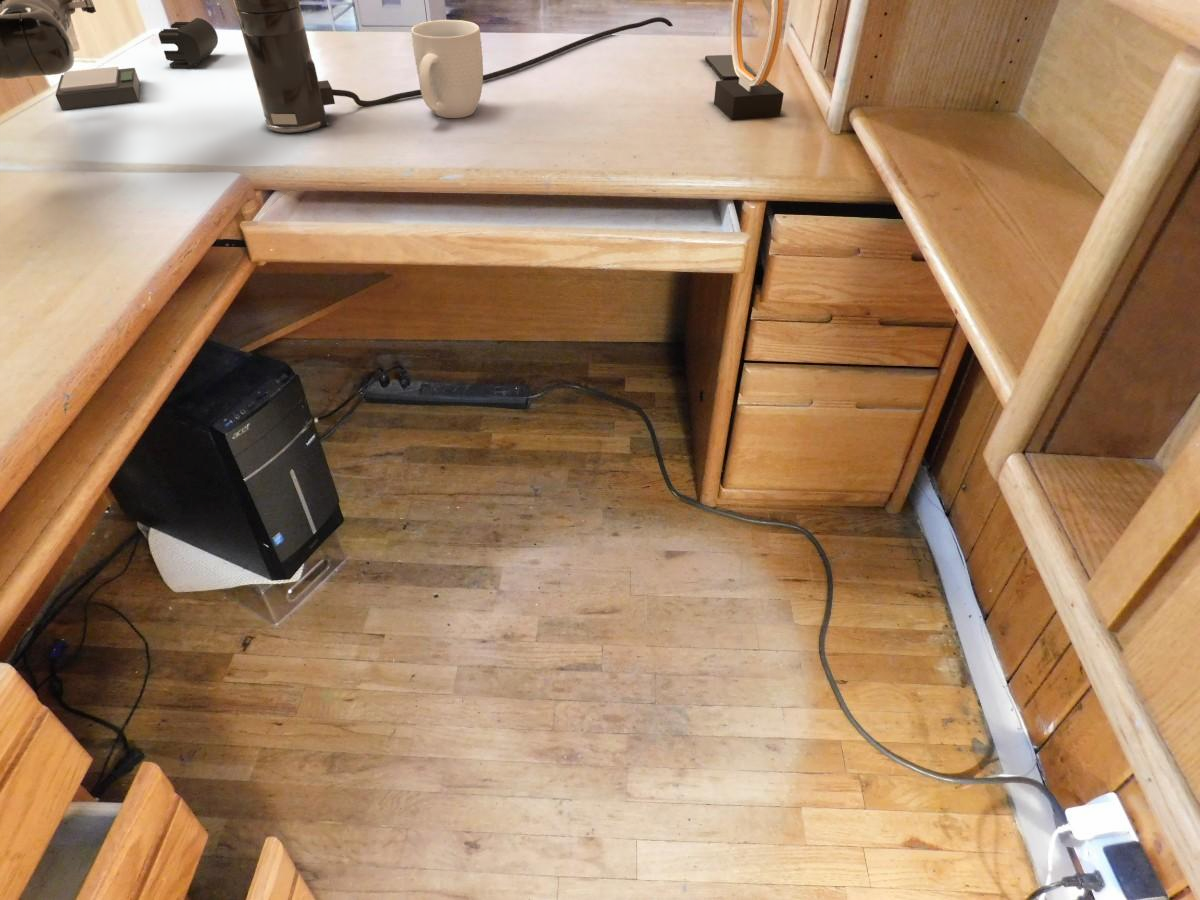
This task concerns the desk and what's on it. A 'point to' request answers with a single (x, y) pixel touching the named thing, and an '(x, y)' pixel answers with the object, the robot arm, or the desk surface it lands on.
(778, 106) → the lamp
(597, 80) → the desk surface
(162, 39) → the end cap
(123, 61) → the desk surface
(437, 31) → the mug
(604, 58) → the desk surface
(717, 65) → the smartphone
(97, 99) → the scale
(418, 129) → the desk surface
